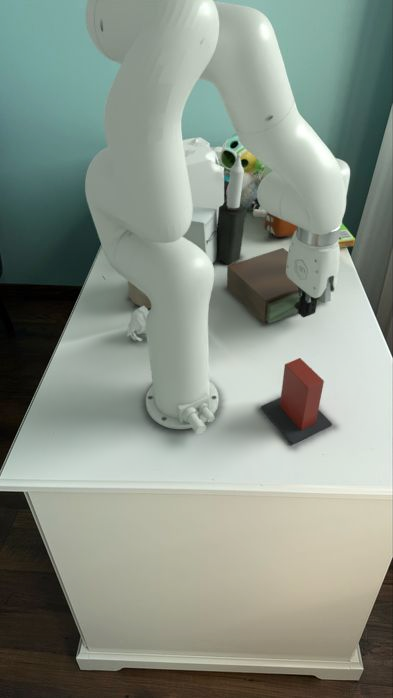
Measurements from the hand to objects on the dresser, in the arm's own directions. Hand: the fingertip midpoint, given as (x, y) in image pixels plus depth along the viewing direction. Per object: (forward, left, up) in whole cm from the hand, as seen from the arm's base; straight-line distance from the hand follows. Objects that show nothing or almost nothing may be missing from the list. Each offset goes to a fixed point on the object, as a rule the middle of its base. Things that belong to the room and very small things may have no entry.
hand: (306, 313), depth 102 cm
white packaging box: (+31, +8, -3) cm, 32 cm away
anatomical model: (+51, -21, +2) cm, 56 cm away
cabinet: (+11, 0, -3) cm, 12 cm away
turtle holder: (+69, -34, +3) cm, 77 cm away
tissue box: (+49, -9, +7) cm, 51 cm away
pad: (-19, +17, -3) cm, 25 cm away
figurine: (+12, +27, -3) cm, 29 cm away
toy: (+44, -18, -1) cm, 47 cm away
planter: (+25, +22, -3) cm, 34 cm away
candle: (+30, +1, -3) cm, 30 cm away
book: (-19, +16, -2) cm, 25 cm away
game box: (+19, -24, -2) cm, 31 cm away
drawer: (+9, 0, -2) cm, 9 cm away
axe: (+82, -1, -2) cm, 82 cm away
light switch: (+78, -24, -1) cm, 82 cm away
